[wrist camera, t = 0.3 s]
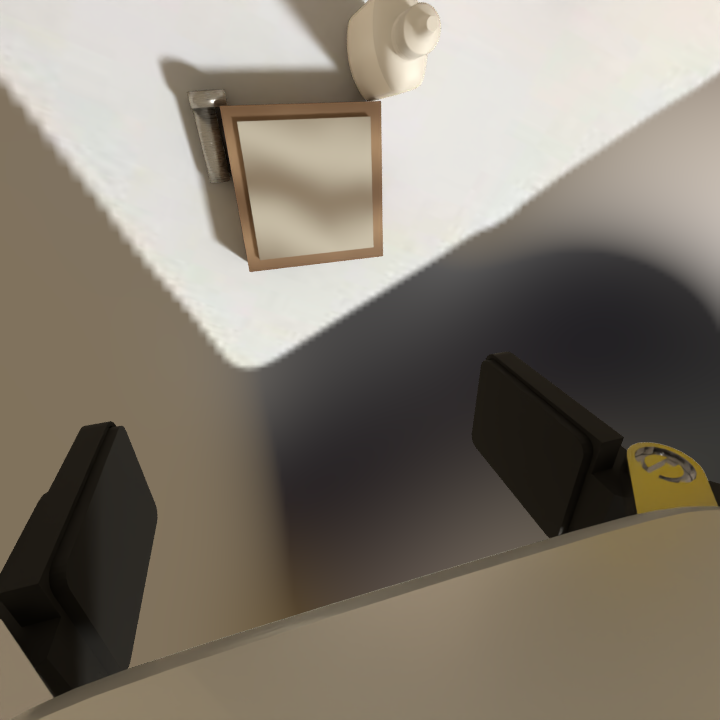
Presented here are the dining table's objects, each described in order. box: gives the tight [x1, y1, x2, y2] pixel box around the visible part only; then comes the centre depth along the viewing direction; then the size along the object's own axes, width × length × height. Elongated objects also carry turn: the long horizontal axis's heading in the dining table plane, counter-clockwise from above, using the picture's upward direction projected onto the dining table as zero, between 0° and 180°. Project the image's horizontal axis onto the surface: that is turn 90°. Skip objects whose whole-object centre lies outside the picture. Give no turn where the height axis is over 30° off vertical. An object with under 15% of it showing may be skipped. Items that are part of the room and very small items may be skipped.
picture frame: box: [220, 101, 383, 272], centre depth 34 cm, size 12×12×3 cm
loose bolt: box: [187, 90, 231, 183], centre depth 31 cm, size 6×3×3 cm
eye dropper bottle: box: [347, 0, 441, 101], centre depth 27 cm, size 4×6×12 cm
